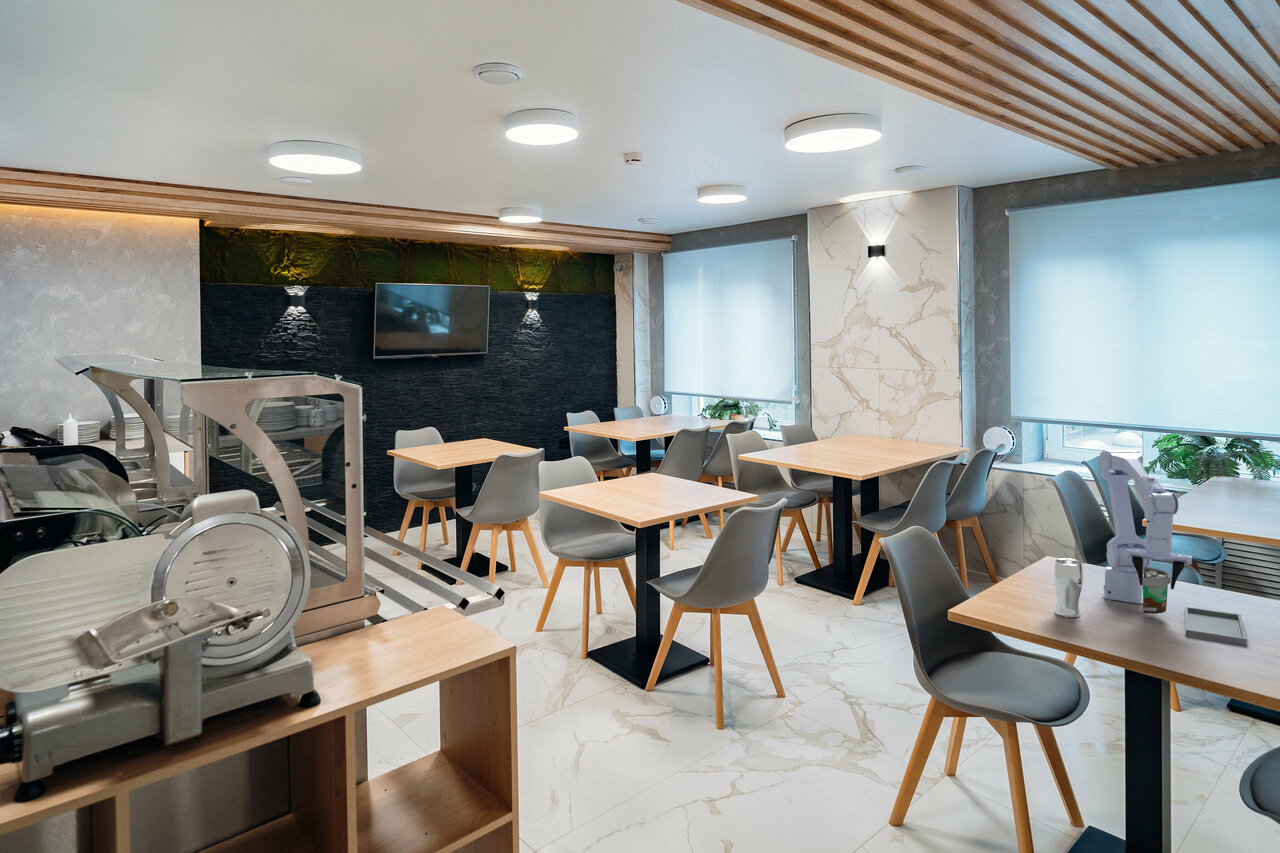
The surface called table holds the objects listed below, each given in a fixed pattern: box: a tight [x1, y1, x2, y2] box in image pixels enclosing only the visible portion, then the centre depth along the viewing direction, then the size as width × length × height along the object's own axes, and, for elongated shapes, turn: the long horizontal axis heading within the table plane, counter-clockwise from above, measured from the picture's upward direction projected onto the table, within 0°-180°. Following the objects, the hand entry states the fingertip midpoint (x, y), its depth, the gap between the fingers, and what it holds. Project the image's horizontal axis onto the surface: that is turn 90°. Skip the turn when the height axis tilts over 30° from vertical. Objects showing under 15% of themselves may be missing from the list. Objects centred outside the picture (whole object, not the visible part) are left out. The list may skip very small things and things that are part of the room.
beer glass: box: [1053, 558, 1084, 618], centre depth 203 cm, size 7×7×15 cm
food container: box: [1142, 566, 1171, 615], centre depth 198 cm, size 12×6×10 cm, turn 144°
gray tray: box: [1184, 606, 1248, 646], centre depth 191 cm, size 12×20×2 cm, turn 144°
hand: (1156, 586), depth 198 cm, fingers closed on food container, 6 cm apart
